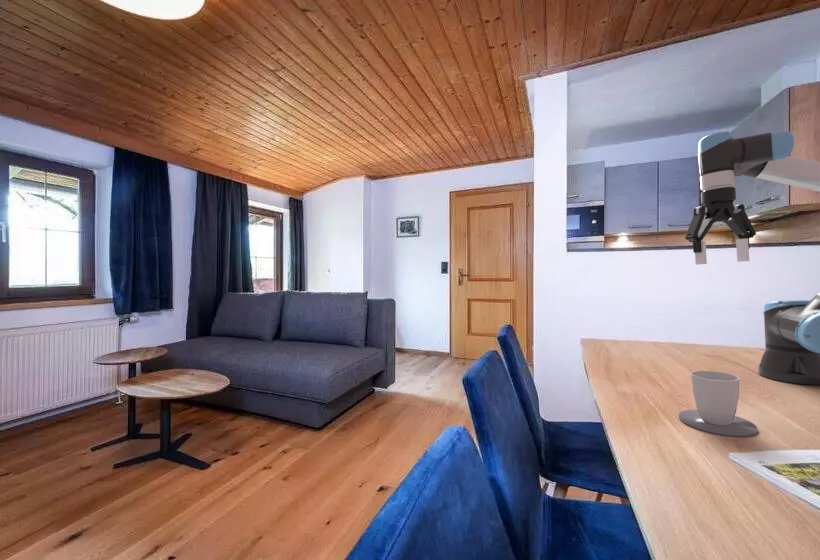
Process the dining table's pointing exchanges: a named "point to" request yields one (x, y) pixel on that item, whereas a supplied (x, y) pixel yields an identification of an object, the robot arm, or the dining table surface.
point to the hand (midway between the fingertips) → (722, 262)
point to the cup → (715, 396)
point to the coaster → (735, 429)
